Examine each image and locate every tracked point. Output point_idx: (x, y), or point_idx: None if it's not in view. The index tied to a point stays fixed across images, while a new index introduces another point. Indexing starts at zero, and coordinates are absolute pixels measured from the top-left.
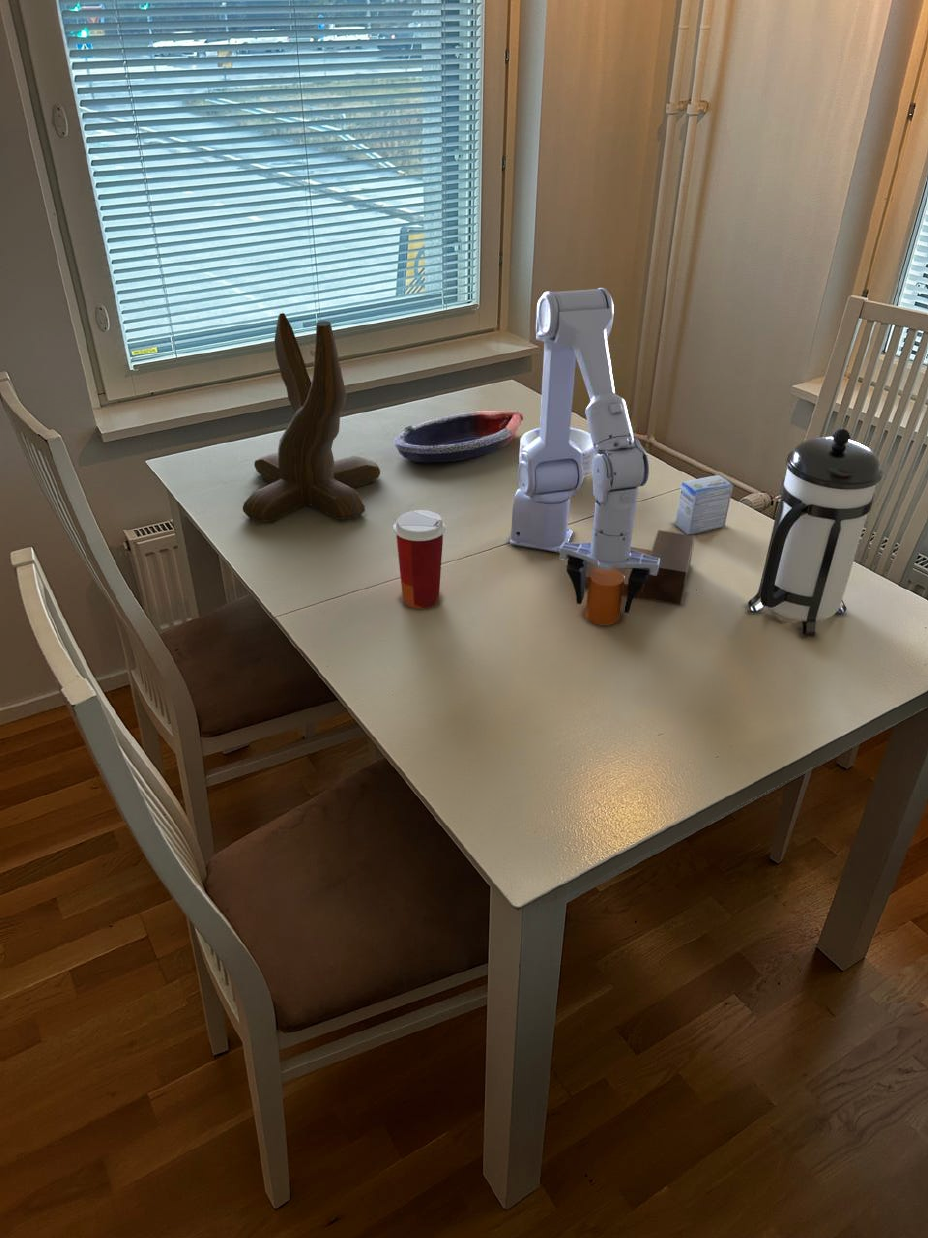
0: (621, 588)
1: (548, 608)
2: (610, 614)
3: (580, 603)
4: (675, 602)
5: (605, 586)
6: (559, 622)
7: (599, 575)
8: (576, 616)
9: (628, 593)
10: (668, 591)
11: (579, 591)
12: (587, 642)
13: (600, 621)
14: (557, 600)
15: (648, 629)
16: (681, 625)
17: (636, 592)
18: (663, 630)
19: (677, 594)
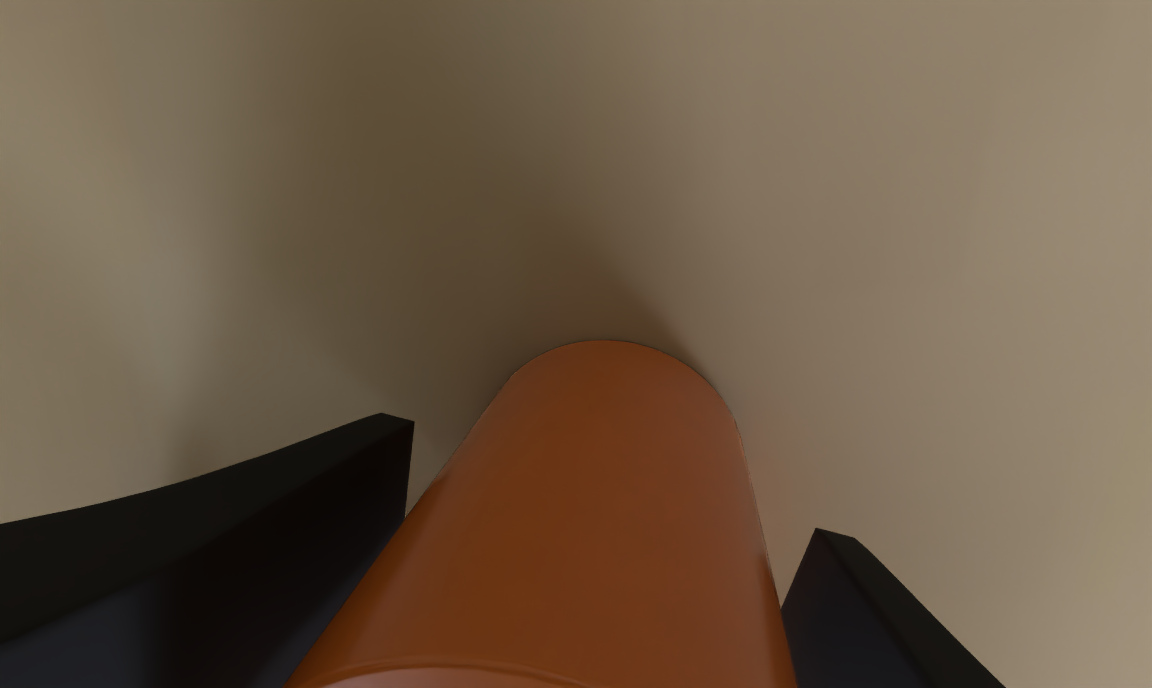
0: (316, 639)
1: (1065, 541)
2: (533, 386)
3: (826, 533)
4: None
5: (537, 656)
6: (1002, 348)
7: None
8: (823, 442)
9: (209, 530)
10: None
11: (919, 648)
12: (763, 43)
13: (627, 352)
14: (956, 637)
15: (273, 313)
16: (87, 379)
17: (45, 518)
18: (177, 311)
19: None
